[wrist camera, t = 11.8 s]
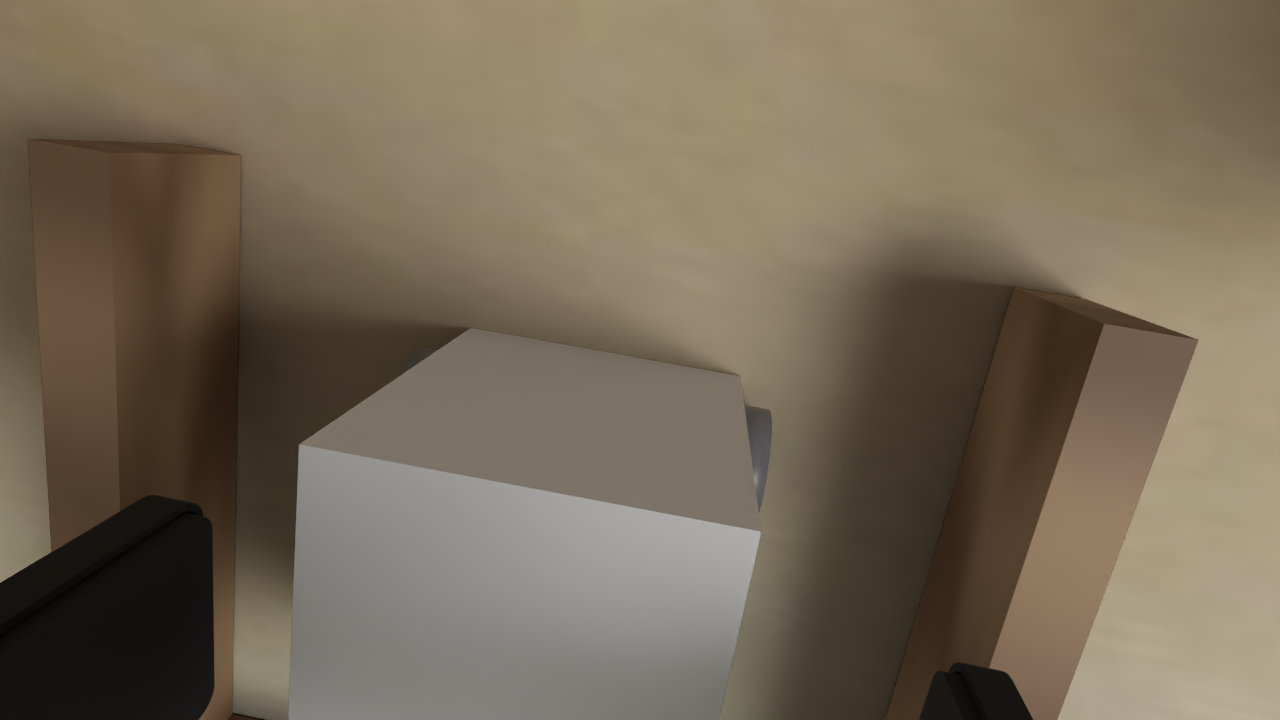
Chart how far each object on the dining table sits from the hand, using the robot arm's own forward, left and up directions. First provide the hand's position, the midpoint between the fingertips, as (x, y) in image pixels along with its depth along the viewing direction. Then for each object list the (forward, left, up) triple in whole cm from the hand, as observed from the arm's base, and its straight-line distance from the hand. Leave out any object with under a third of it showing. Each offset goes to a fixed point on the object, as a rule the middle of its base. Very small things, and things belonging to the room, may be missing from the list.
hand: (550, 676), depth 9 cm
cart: (+1, 0, -5) cm, 5 cm away
